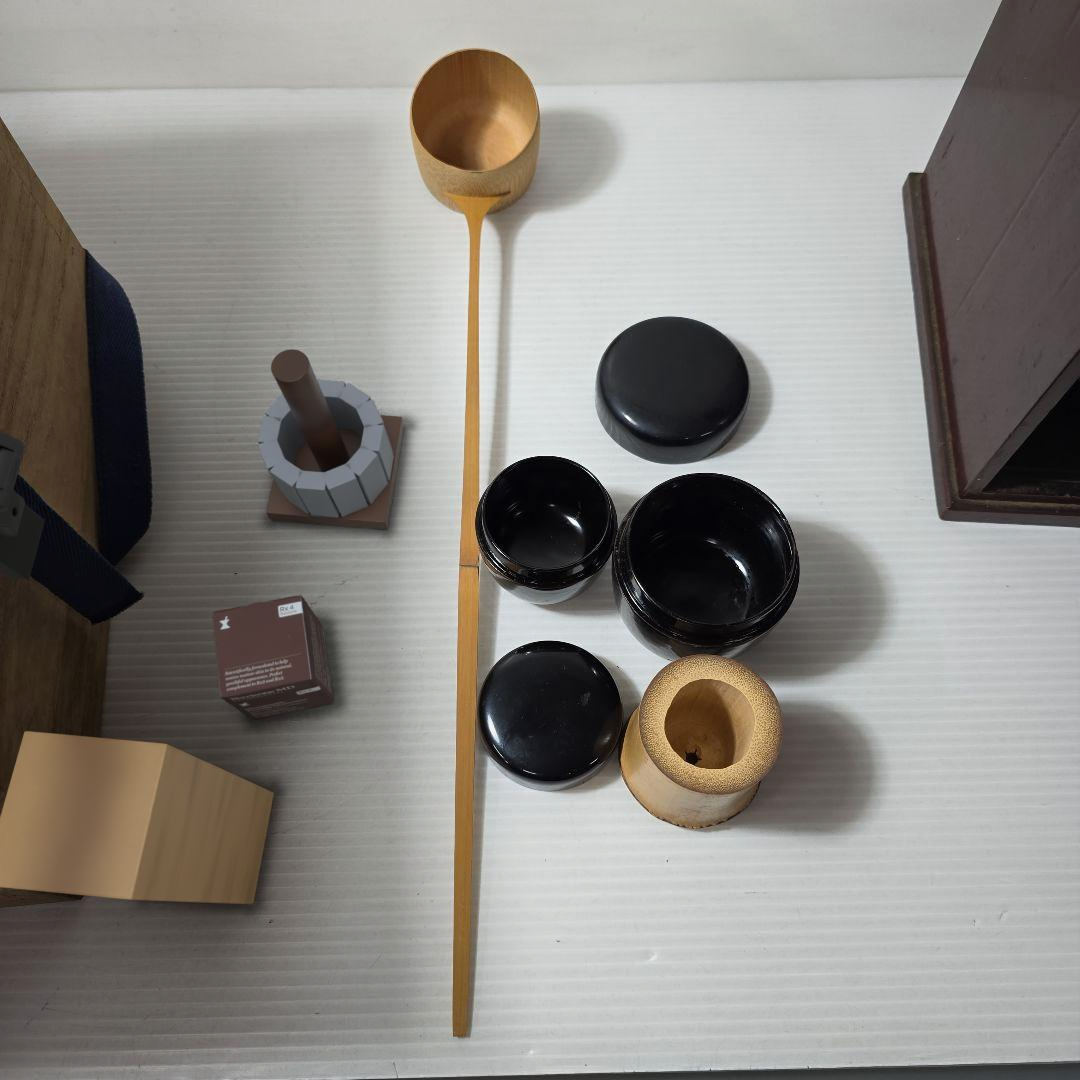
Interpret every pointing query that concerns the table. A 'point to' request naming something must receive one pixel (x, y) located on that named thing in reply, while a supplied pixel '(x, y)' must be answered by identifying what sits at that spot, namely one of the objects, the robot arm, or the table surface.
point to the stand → (130, 822)
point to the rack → (326, 445)
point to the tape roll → (339, 485)
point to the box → (272, 657)
